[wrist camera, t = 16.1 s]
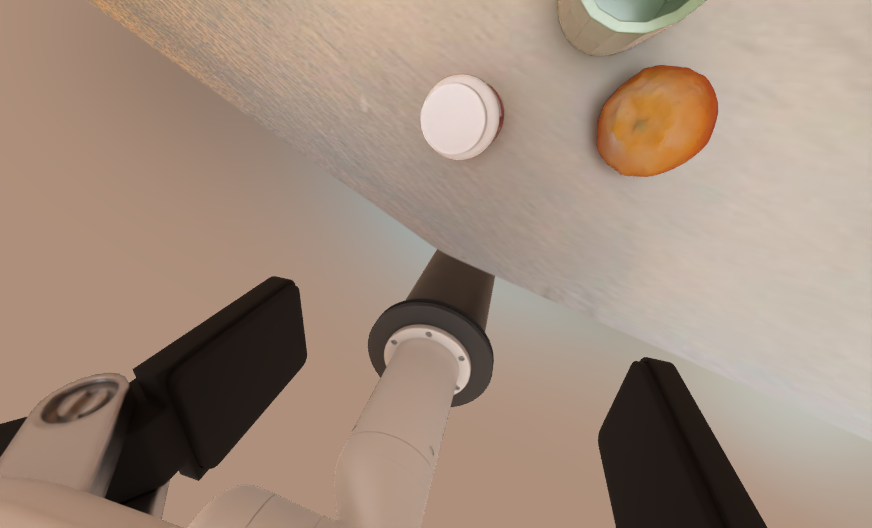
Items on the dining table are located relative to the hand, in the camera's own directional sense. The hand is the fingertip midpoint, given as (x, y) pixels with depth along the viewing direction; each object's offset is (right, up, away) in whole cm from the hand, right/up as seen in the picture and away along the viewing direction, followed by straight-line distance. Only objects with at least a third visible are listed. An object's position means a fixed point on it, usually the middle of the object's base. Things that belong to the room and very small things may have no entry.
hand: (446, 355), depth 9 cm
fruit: (+18, +15, +20) cm, 31 cm away
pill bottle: (+3, +17, +23) cm, 29 cm away
